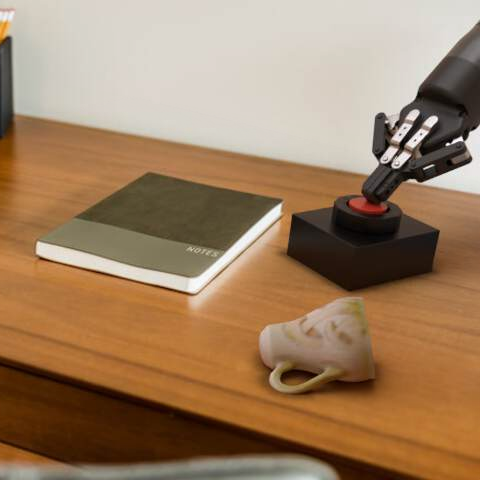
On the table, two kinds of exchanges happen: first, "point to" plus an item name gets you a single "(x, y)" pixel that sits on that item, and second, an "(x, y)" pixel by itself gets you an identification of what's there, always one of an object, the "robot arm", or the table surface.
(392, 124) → the robot arm
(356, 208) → the button
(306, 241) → the console
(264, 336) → the mug
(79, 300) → the table surface
